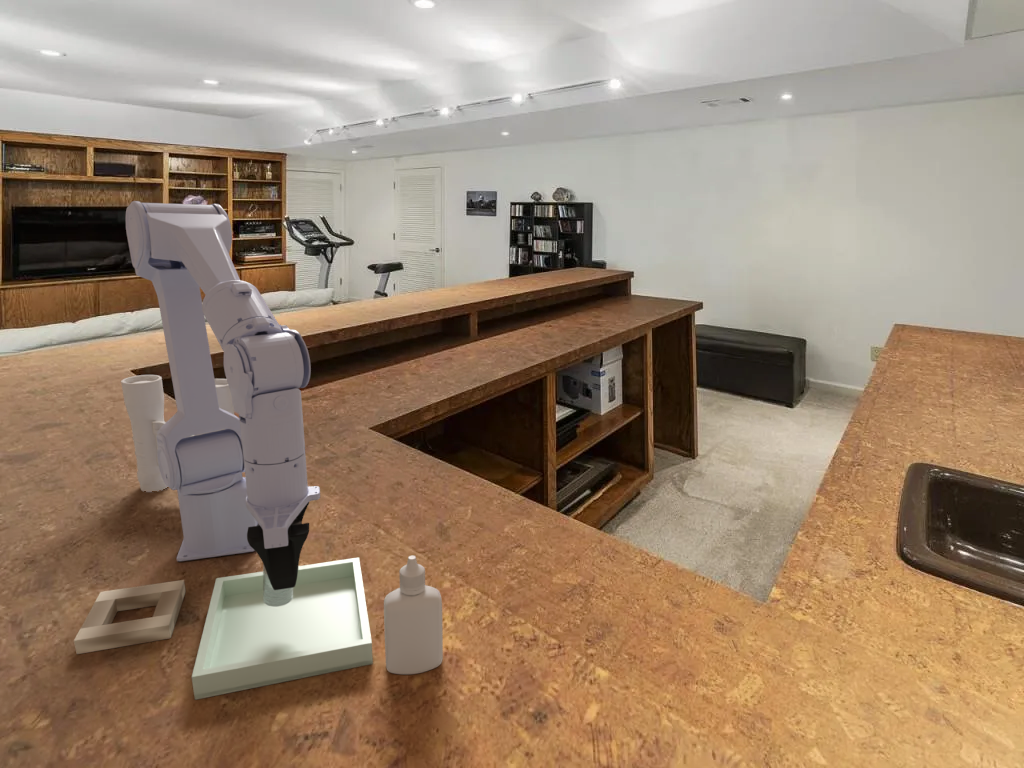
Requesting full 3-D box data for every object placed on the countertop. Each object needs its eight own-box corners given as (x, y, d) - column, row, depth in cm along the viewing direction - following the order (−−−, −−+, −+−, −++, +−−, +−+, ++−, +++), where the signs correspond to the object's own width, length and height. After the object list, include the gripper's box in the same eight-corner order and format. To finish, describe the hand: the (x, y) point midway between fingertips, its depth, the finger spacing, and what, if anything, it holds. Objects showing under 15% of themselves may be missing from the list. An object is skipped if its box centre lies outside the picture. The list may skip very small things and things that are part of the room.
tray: (359, 575, 74) (359, 557, 73) (372, 663, 59) (371, 642, 59) (218, 597, 69) (216, 578, 68) (194, 699, 55) (191, 677, 54)
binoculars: (129, 492, 94) (111, 382, 89) (152, 477, 100) (137, 373, 95) (232, 499, 93) (220, 388, 88) (250, 484, 98) (240, 379, 93)
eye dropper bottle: (398, 642, 63) (395, 541, 59) (448, 653, 61) (447, 550, 58) (378, 671, 58) (374, 564, 55) (431, 684, 57) (430, 575, 54)
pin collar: (185, 591, 70) (184, 579, 70) (170, 638, 62) (168, 625, 62) (102, 604, 67) (100, 591, 67) (76, 654, 60) (73, 640, 59)
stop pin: (300, 583, 66) (302, 514, 64) (299, 608, 62) (301, 536, 60) (257, 586, 64) (258, 516, 62) (253, 612, 60) (254, 538, 58)
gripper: (318, 478, 54) (327, 608, 57) (316, 426, 67) (323, 534, 70) (232, 487, 51) (247, 622, 55) (248, 431, 65) (259, 543, 68)
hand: (285, 574), depth 62 cm, fingers closed on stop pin, 4 cm apart
